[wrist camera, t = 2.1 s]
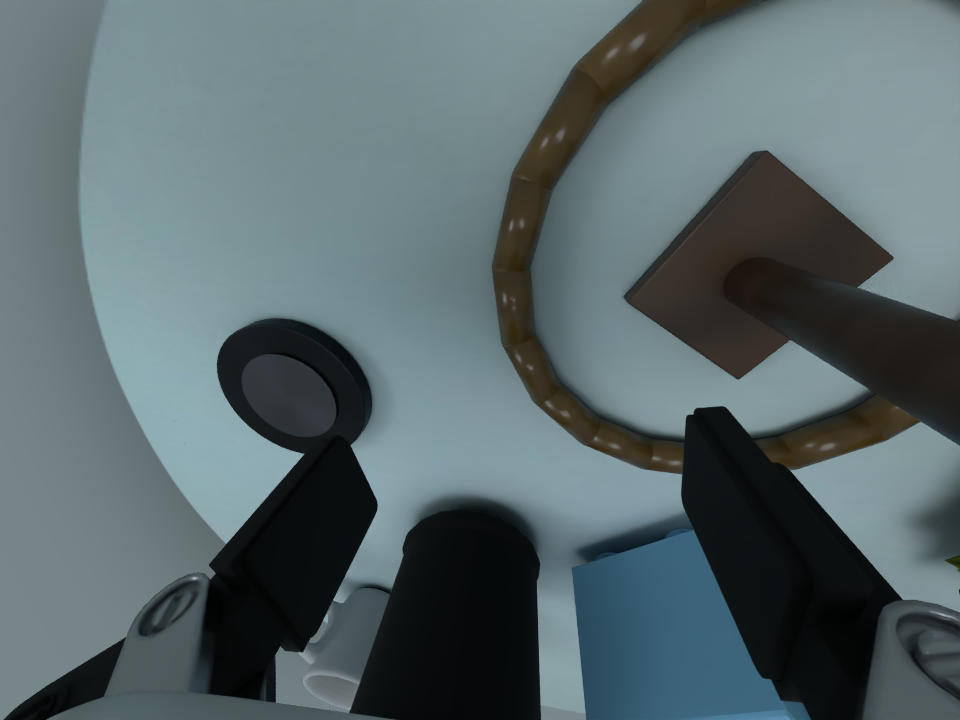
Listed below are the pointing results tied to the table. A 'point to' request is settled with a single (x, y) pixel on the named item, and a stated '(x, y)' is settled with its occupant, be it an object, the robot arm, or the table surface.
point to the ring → (577, 107)
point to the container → (458, 626)
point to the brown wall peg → (799, 294)
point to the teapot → (666, 640)
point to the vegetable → (955, 562)
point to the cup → (344, 647)
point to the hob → (293, 384)
